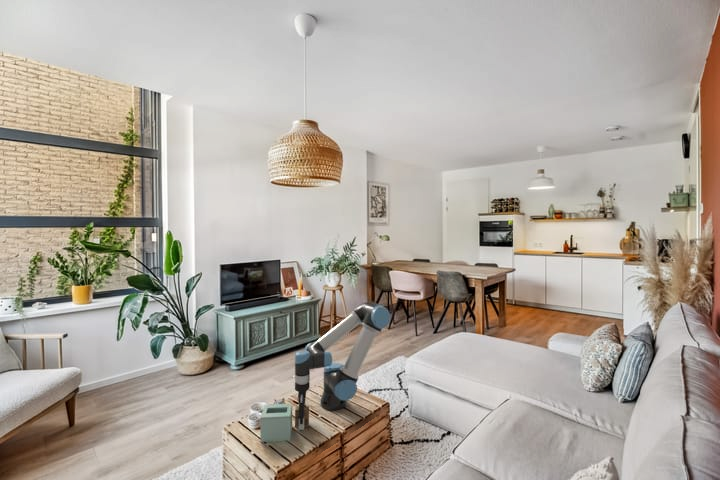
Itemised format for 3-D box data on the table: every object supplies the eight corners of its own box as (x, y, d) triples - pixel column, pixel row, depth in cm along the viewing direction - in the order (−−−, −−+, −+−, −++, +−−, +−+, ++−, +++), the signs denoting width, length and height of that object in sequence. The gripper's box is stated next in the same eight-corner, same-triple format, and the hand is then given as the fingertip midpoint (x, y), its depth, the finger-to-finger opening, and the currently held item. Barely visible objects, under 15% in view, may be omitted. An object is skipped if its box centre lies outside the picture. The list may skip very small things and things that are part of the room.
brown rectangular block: (308, 423, 183) (309, 406, 182) (308, 426, 180) (308, 409, 180) (295, 423, 182) (295, 406, 182) (295, 427, 179) (295, 410, 179)
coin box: (292, 425, 180) (292, 403, 179) (290, 440, 168) (290, 416, 168) (264, 427, 178) (264, 404, 178) (260, 441, 167) (260, 417, 166)
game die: (281, 421, 190) (282, 413, 184) (267, 414, 192) (268, 406, 186) (289, 407, 197) (291, 398, 191) (276, 400, 199) (277, 391, 192)
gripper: (296, 373, 190) (296, 414, 191) (293, 391, 169) (293, 436, 170) (310, 372, 190) (309, 413, 192) (308, 390, 170) (308, 436, 171)
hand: (301, 424), depth 181 cm, fingers open, 7 cm apart
